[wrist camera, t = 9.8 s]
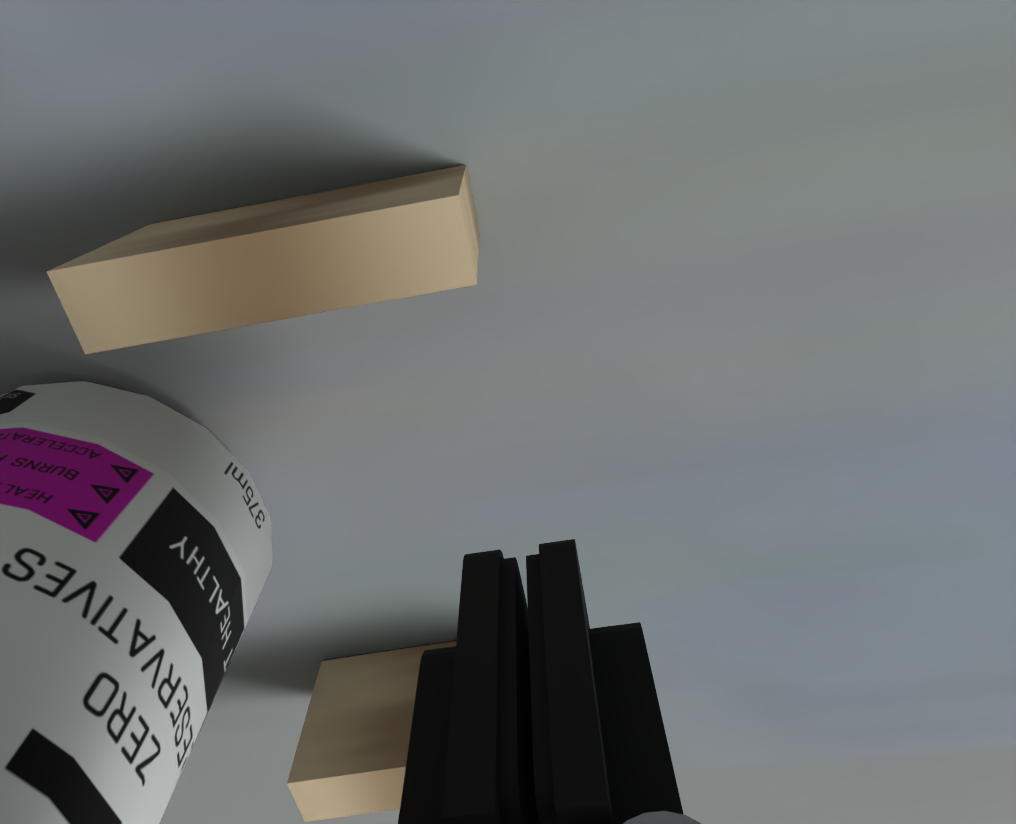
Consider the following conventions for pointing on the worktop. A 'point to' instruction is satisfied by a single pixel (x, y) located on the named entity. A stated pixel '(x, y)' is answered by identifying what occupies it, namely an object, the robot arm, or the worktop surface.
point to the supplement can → (114, 598)
